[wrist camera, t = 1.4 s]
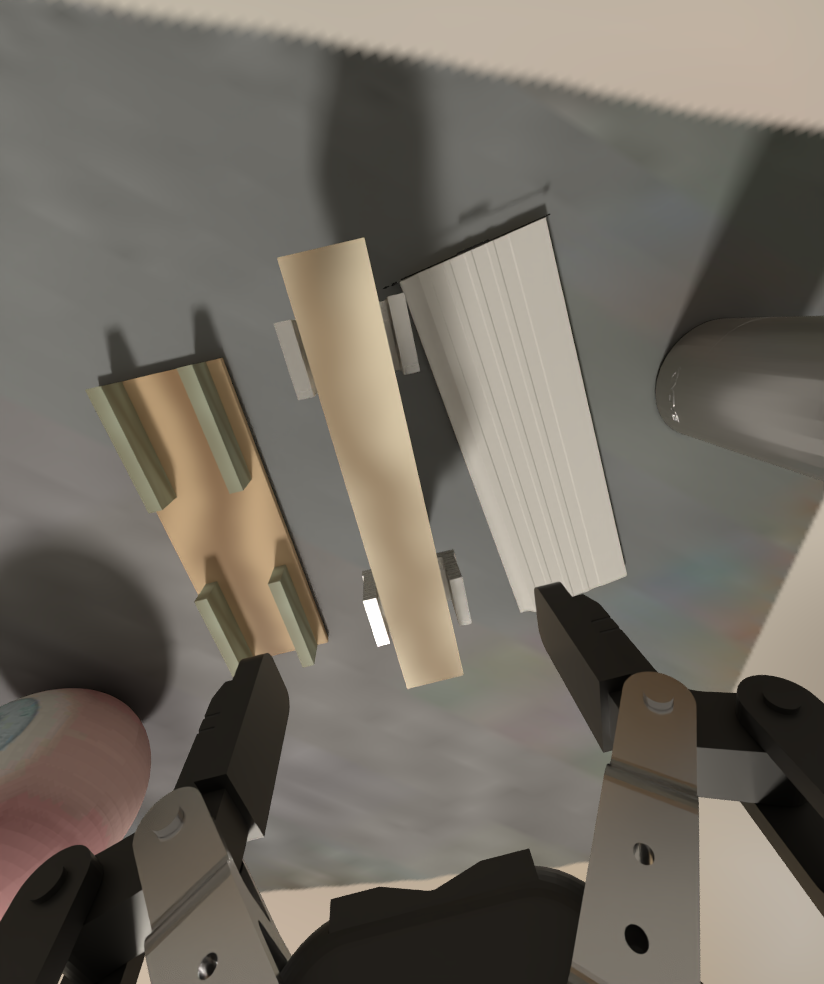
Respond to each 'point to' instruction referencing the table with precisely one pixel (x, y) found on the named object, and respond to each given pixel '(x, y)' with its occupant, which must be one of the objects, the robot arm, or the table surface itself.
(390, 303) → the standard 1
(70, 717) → the eyeball
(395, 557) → the rail
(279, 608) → the rack
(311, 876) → the table surface
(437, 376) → the baseboard
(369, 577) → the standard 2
